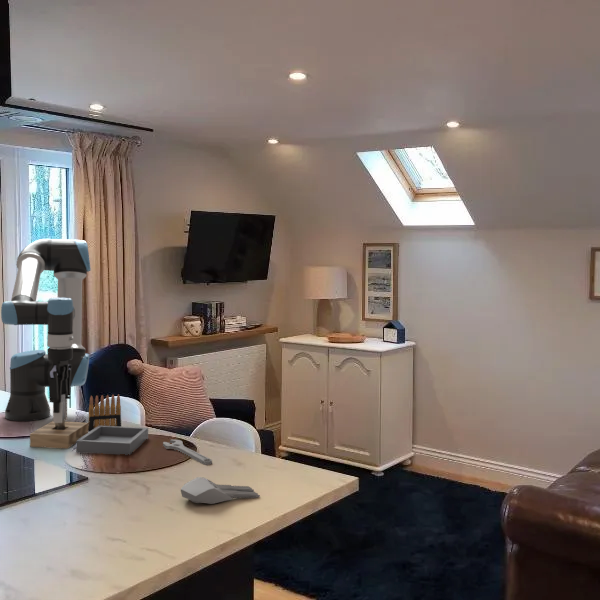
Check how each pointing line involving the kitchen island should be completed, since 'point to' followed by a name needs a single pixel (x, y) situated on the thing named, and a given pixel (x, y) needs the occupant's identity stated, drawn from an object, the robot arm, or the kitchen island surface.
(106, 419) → the ammunition clip
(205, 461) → the adjustable wrench
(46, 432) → the tan board with hole
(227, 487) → the turret
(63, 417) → the pin
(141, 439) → the tray
